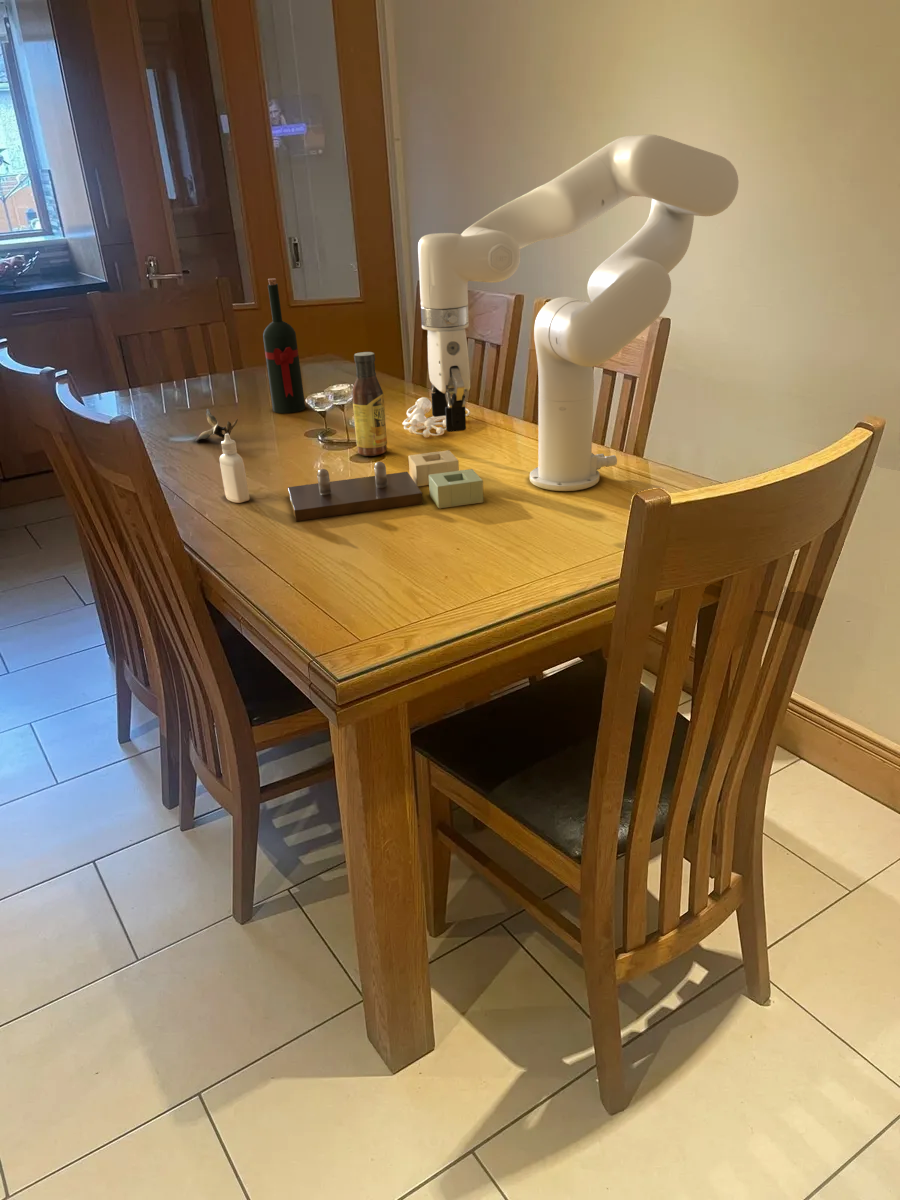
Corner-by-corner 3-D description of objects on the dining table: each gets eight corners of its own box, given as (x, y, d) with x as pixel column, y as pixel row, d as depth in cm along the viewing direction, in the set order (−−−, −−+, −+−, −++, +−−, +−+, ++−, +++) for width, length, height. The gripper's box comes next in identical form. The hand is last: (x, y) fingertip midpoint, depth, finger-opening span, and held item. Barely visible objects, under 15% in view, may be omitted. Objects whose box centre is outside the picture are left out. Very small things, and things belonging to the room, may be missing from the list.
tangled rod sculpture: (455, 445, 182) (456, 426, 180) (389, 438, 185) (389, 419, 183) (474, 417, 198) (474, 399, 196) (413, 410, 201) (413, 393, 199)
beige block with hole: (450, 470, 165) (449, 450, 163) (459, 481, 159) (458, 460, 157) (409, 475, 163) (408, 455, 161) (417, 486, 157) (415, 465, 155)
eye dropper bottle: (225, 505, 153) (213, 439, 148) (225, 494, 158) (214, 431, 153) (249, 502, 154) (239, 437, 148) (250, 492, 159) (239, 428, 153)
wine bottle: (275, 417, 204) (256, 283, 190) (271, 406, 213) (253, 278, 199) (308, 413, 206) (292, 280, 192) (303, 403, 214) (287, 275, 201)
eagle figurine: (244, 430, 191) (211, 420, 194) (233, 409, 184) (199, 399, 187) (226, 457, 188) (193, 446, 191) (214, 436, 182) (180, 425, 184)
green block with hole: (472, 490, 154) (472, 468, 153) (483, 502, 149) (482, 480, 147) (429, 496, 153) (428, 474, 151) (438, 508, 147) (437, 486, 145)
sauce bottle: (383, 457, 173) (374, 357, 164) (353, 457, 174) (343, 357, 165) (391, 447, 179) (383, 350, 170) (362, 447, 180) (353, 350, 171)
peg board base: (408, 481, 160) (405, 447, 157) (422, 503, 150) (420, 468, 147) (289, 497, 155) (284, 463, 152) (296, 521, 145) (291, 484, 142)
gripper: (482, 324, 131) (484, 434, 138) (453, 308, 146) (457, 408, 153) (434, 328, 129) (439, 439, 137) (410, 311, 144) (415, 412, 152)
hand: (448, 422), depth 145 cm, fingers open, 9 cm apart
